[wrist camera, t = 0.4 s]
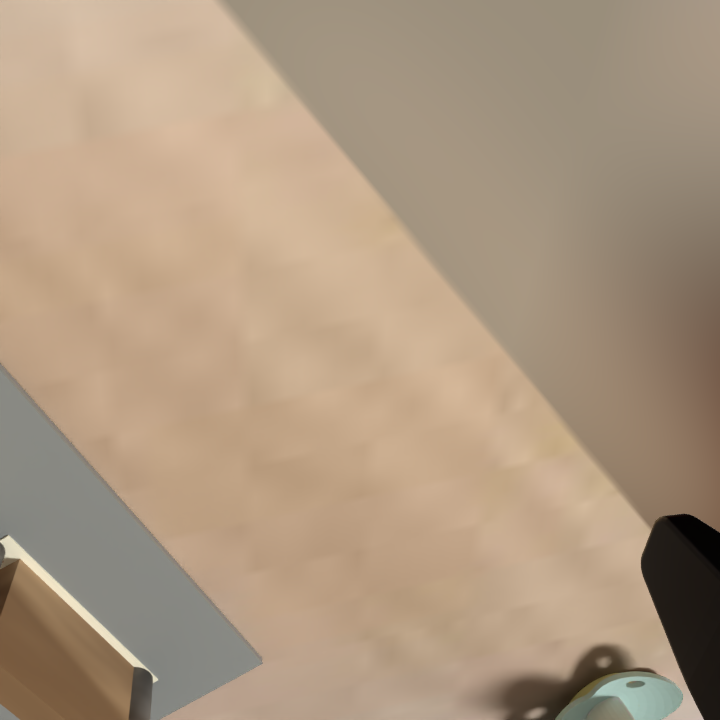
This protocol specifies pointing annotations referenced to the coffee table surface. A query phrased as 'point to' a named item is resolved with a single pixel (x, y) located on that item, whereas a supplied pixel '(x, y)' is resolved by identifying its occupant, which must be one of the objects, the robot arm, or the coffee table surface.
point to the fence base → (61, 659)
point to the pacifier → (624, 698)
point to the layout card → (107, 562)
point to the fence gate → (2, 553)
